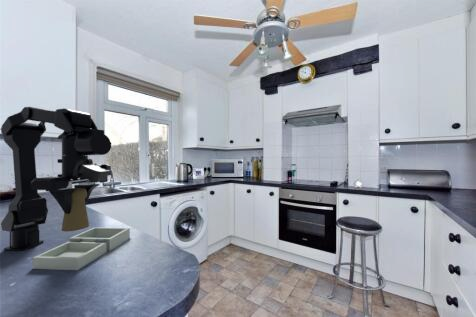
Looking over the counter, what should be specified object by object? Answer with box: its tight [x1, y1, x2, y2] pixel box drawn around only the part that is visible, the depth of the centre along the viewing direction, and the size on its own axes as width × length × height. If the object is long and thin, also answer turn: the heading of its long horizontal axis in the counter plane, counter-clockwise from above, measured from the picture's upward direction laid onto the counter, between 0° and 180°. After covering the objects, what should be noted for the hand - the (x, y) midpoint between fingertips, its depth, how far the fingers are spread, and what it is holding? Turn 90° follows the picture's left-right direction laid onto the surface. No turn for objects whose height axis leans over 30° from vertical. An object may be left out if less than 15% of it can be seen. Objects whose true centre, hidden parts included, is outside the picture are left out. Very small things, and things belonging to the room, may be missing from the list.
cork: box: [61, 188, 90, 233], centre depth 57 cm, size 6×6×11 cm
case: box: [68, 226, 131, 252], centre depth 66 cm, size 13×11×4 cm
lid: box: [32, 241, 108, 271], centre depth 56 cm, size 12×10×3 cm
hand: (75, 211), depth 57 cm, fingers closed on cork, 4 cm apart
